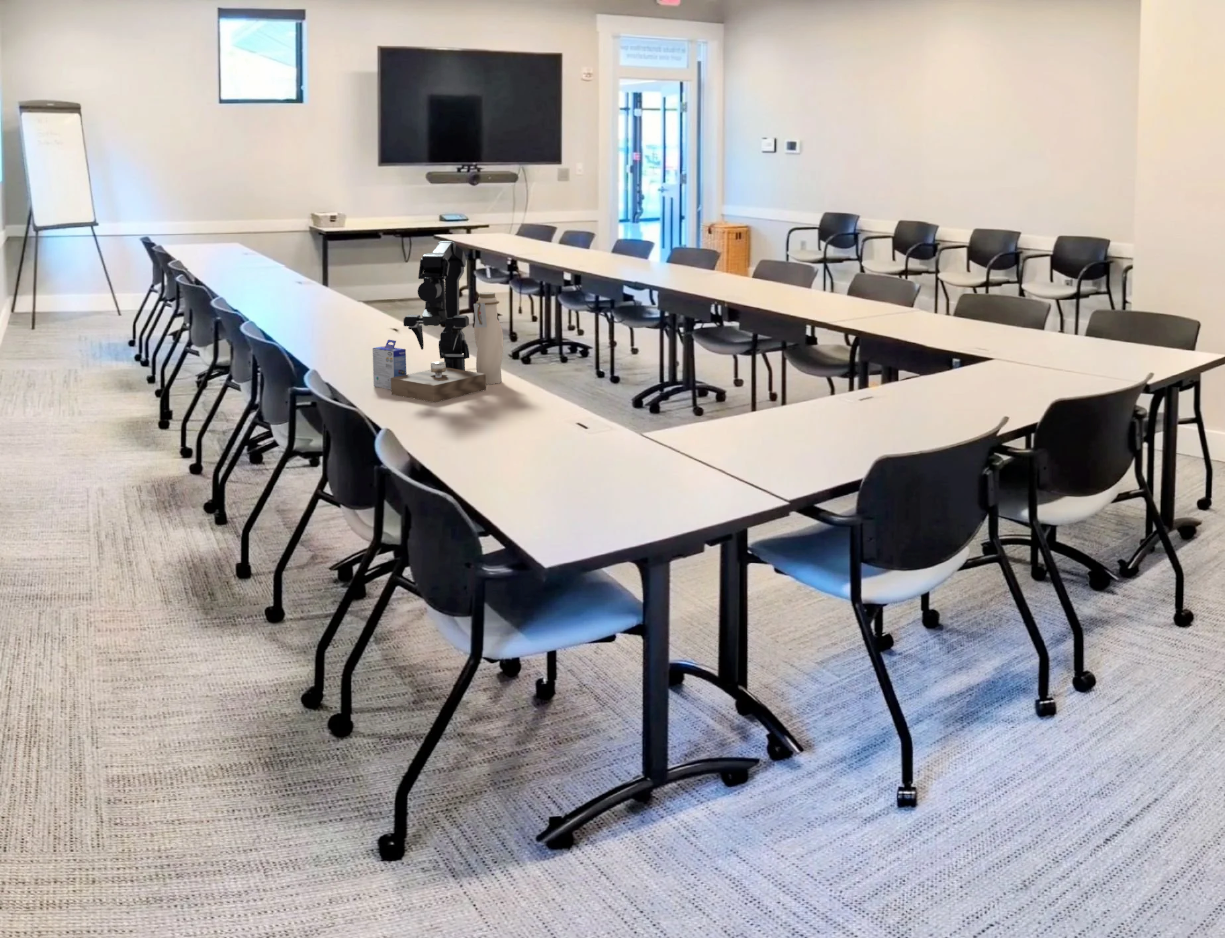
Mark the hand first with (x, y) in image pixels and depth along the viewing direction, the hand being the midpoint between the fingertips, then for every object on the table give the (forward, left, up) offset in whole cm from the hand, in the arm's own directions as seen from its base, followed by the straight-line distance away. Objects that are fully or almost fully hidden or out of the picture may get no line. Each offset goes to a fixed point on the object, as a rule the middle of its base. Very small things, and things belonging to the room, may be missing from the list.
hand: (437, 349), depth 339 cm
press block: (0, 0, -13) cm, 13 cm away
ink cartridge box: (+4, -17, -13) cm, 22 cm away
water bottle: (-20, +2, -13) cm, 24 cm away
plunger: (0, 0, -13) cm, 13 cm away
